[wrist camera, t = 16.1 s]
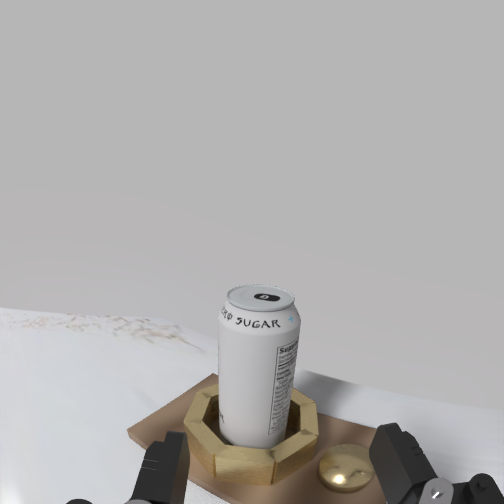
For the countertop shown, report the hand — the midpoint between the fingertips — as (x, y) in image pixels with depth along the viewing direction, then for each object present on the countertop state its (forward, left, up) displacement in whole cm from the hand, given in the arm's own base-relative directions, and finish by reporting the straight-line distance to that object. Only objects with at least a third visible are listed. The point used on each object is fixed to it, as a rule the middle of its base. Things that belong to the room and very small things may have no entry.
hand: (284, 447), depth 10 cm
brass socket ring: (0, -11, -13) cm, 17 cm away
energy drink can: (+2, -12, -13) cm, 17 cm away
